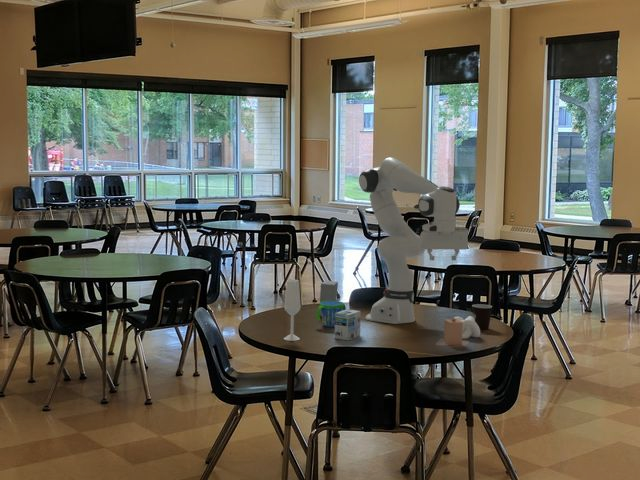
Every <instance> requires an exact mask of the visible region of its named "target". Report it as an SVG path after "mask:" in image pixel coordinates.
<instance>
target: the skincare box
mask: <svg viewBox="0 0 640 480" xmlns="http://www.w3.org/2000/svg"><path fill="white" fill-rule="evenodd" d="M338 284H339V282H338V281H336V280H335V281H334V280H324V281H323V282H321V283H320V292H319V294H320V295H319V303H320V302H323V301H338V288H339V287H338V286H339V285H338ZM320 318H322V316H321V310H320Z"/></svg>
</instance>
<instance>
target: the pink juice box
mask: <svg viewBox="0 0 640 480" xmlns="http://www.w3.org/2000/svg"><path fill="white" fill-rule="evenodd" d="M443 327H444V328H443V339H444V342H445V343H447V344H448V345H462V340H463V339H462V327H463V322H461V321H460V320H458V319H456V318H454V317H451V319H450V318H449V319H448V318H446V319H444V321H443Z"/></svg>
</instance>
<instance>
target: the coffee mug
mask: <svg viewBox="0 0 640 480" xmlns="http://www.w3.org/2000/svg"><path fill="white" fill-rule="evenodd" d="M471 308H472V317H473V318H474V319H475V322H476V323H477V325H478V326H479V328H480V331H488V330H489V329H490V324H491V323H490V321H491V317H492V310H493V305H490V304H481V303H480V304H479V303H477V304H472V305H471Z"/></svg>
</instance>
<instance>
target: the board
mask: <svg viewBox="0 0 640 480" xmlns="http://www.w3.org/2000/svg"><path fill="white" fill-rule="evenodd" d="M470 343H471V342H470V340H463V339H462V345H448V344H447V343H445V342H444V337H443V338H440V339H439V340H438V341H437V342H436V343H435V346H443V347H454V348H461V349H462V348H463V349H465V348H467V346H468V345H469V344H470Z"/></svg>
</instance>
